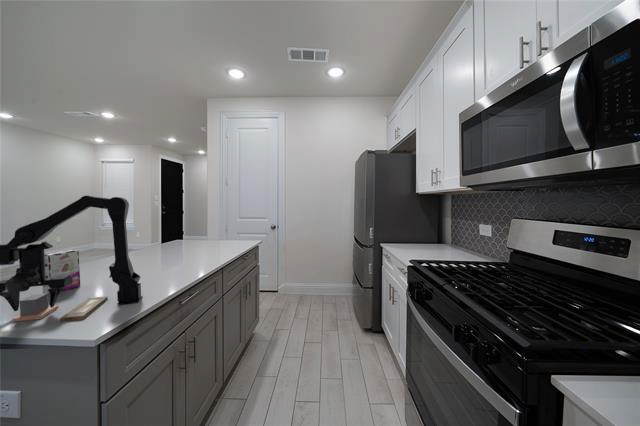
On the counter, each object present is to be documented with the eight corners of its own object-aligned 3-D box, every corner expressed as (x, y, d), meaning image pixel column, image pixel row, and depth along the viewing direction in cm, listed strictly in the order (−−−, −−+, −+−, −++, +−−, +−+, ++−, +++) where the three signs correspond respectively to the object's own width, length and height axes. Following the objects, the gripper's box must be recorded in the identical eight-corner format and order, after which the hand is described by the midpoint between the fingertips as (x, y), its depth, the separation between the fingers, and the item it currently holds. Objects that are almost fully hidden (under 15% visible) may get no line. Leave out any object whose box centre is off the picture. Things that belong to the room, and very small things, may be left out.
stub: (58, 307, 94) (57, 291, 93) (41, 318, 85) (40, 300, 85) (32, 310, 91) (32, 293, 91) (12, 321, 83) (11, 303, 83)
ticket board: (107, 299, 102) (107, 296, 102) (83, 319, 85) (83, 315, 85) (88, 301, 100) (88, 297, 100) (60, 321, 83) (60, 317, 83)
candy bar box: (72, 285, 118) (70, 249, 118) (80, 286, 117) (79, 249, 117) (41, 293, 107) (39, 254, 107) (50, 294, 106) (49, 254, 106)
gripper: (-29, 271, 77) (-26, 323, 77) (53, 266, 83) (55, 315, 83) (2, 262, 87) (4, 309, 88) (72, 259, 93) (74, 302, 94)
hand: (34, 309), depth 88 cm, fingers open, 9 cm apart
